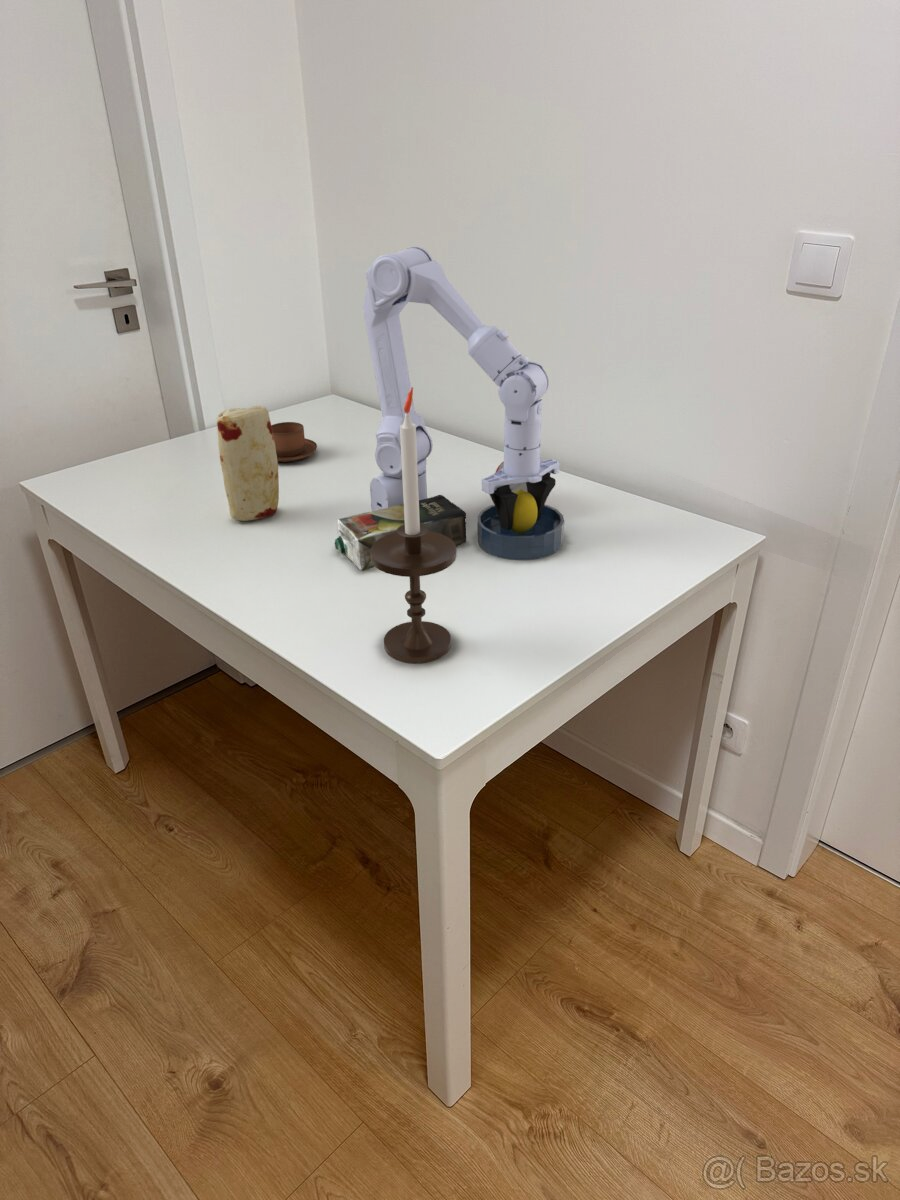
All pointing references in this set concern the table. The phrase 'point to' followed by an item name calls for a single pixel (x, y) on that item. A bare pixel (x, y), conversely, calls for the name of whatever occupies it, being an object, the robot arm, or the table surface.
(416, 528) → the candlestick
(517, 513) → the lemon
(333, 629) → the table surface
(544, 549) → the bowl
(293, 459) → the cup and saucer
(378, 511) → the juice carton
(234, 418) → the food model
